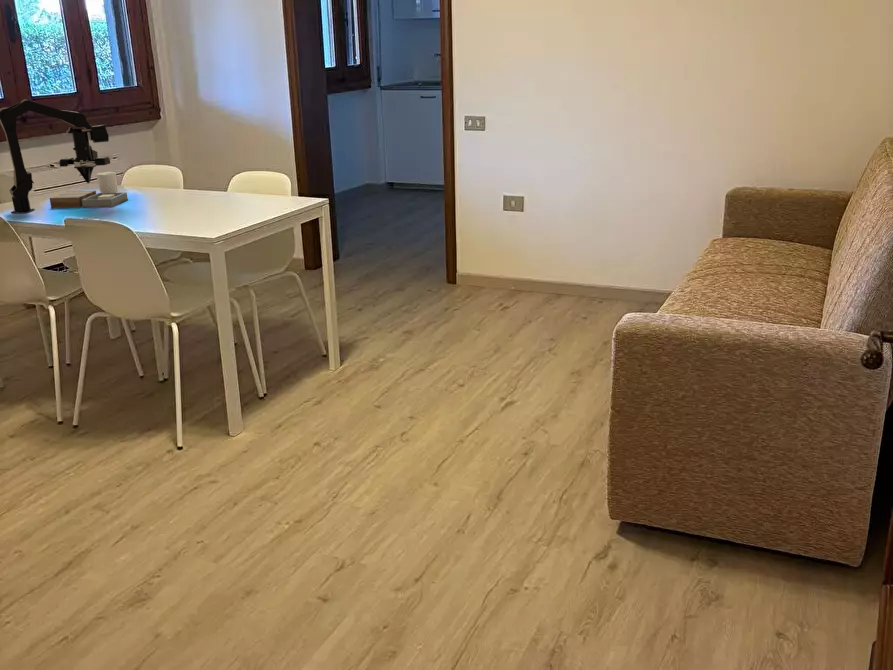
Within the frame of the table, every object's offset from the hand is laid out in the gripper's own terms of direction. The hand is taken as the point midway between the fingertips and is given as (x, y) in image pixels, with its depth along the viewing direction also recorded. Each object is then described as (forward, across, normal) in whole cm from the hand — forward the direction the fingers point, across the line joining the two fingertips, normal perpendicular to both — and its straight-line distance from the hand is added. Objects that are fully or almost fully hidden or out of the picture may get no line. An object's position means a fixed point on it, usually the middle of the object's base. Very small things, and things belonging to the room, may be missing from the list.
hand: (88, 182), depth 339 cm
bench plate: (+8, +7, 0) cm, 11 cm away
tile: (+6, -6, -1) cm, 8 cm away
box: (+8, -6, 0) cm, 10 cm away
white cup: (+9, -1, -16) cm, 18 cm away
